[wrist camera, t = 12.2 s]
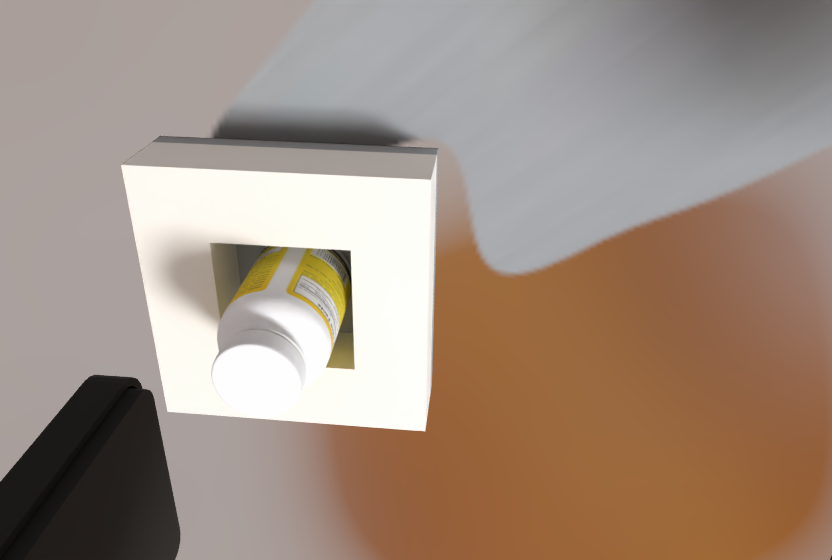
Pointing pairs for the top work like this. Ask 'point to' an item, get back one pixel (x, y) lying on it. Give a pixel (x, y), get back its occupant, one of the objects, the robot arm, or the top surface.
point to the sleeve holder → (291, 227)
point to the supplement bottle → (280, 328)
